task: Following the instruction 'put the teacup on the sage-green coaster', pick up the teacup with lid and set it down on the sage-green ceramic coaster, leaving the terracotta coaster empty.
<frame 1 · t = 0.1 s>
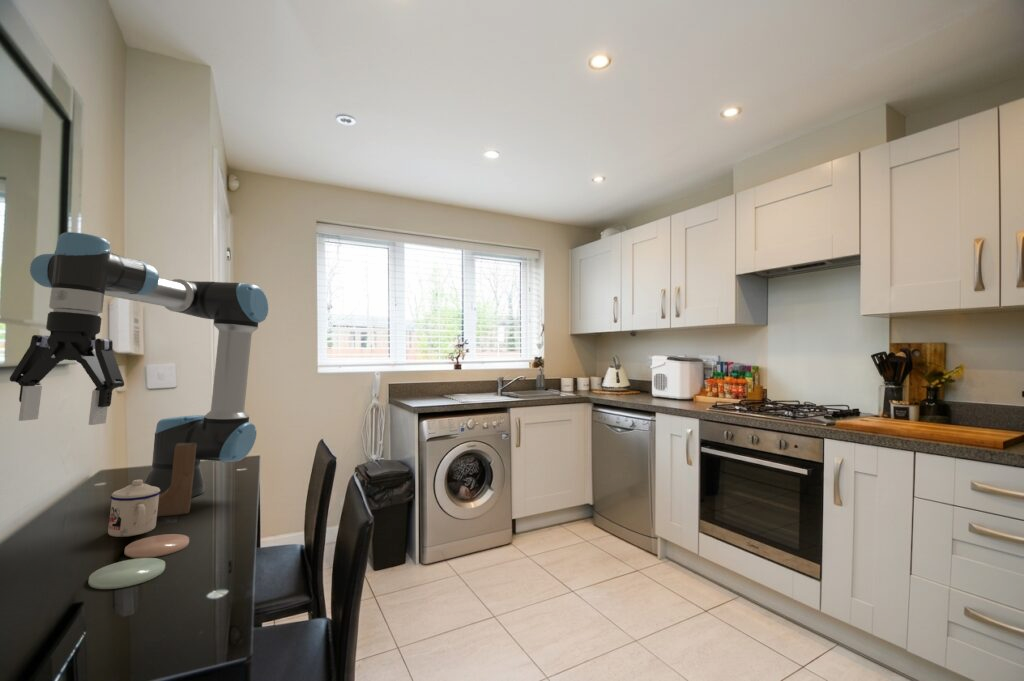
hand: (62, 422, 85), 28 cm above the table, fingers open, 13 cm apart
teacup with lid: (133, 533, 103), on the table
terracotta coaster: (157, 547, 96), on the table
wooden block: (168, 514, 116), on the table
sage coaster: (128, 574, 84), on the table
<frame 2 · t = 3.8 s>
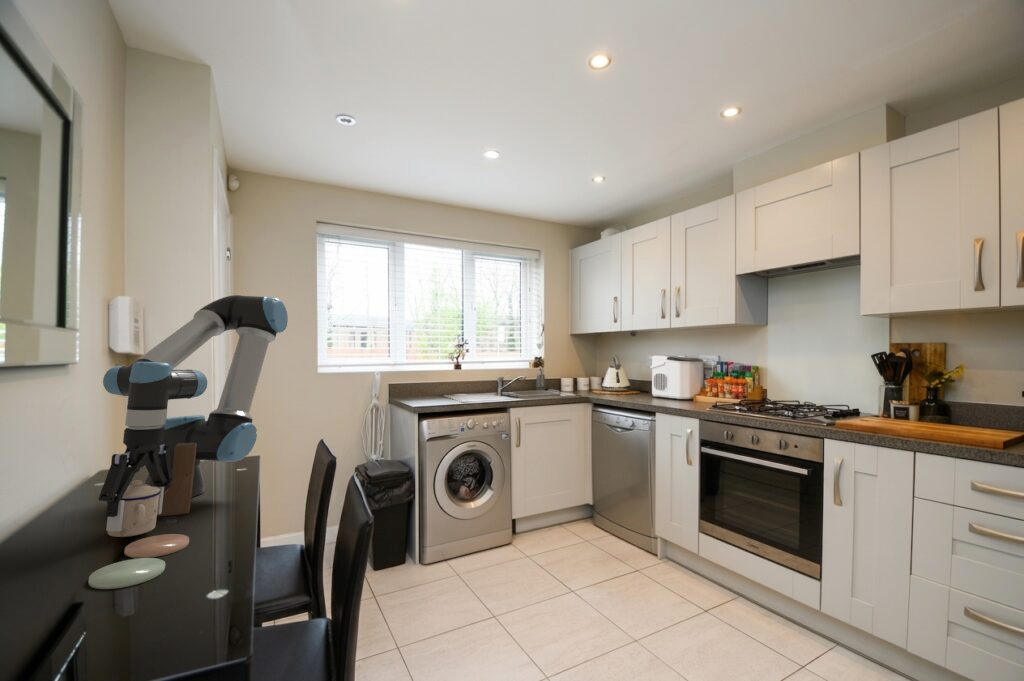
hand: (135, 521, 104), 2 cm above the table, fingers open, 10 cm apart
teacup with lid: (133, 533, 103), on the table, touching gripper
everything else where it was.
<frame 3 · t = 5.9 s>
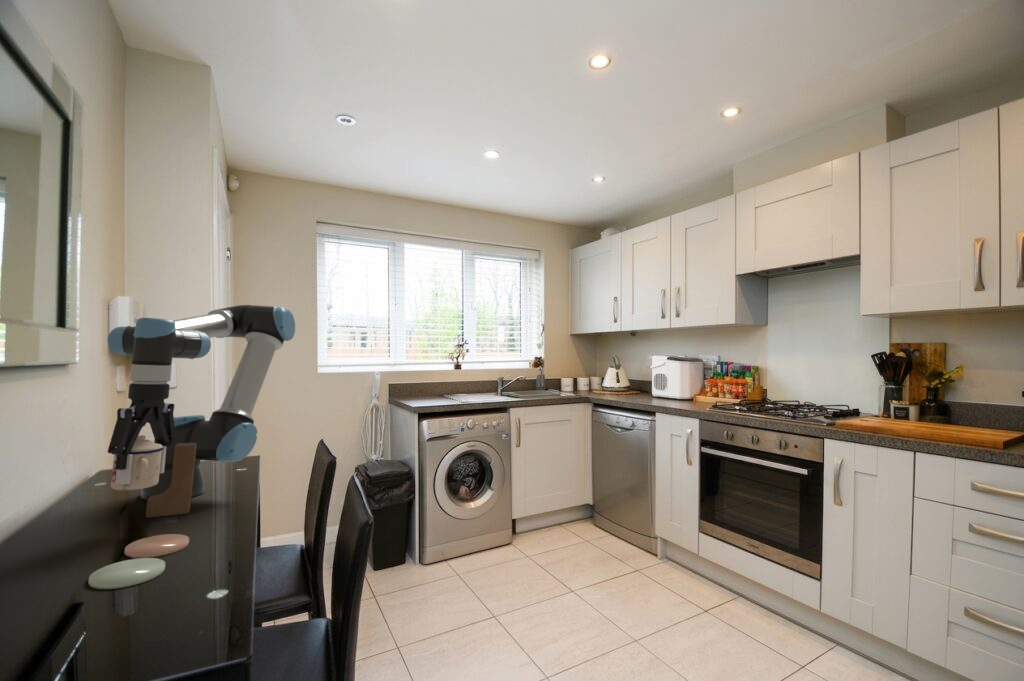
hand: (140, 477, 105), 12 cm above the table, fingers closed on teacup with lid, 9 cm apart
teacup with lid: (136, 487, 103), point 10 cm above the table, touching gripper
everything else where it was.
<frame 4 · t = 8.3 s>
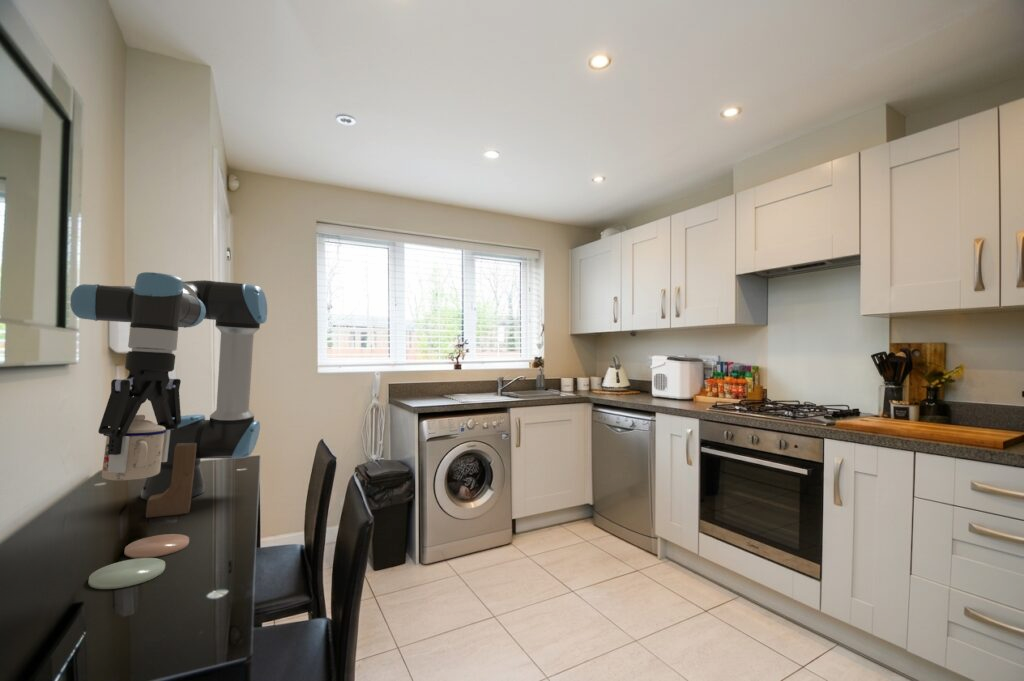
hand: (139, 466, 86), 20 cm above the table, fingers closed on teacup with lid, 9 cm apart
teacup with lid: (132, 478, 85), point 18 cm above the table, touching gripper
everything else where it was.
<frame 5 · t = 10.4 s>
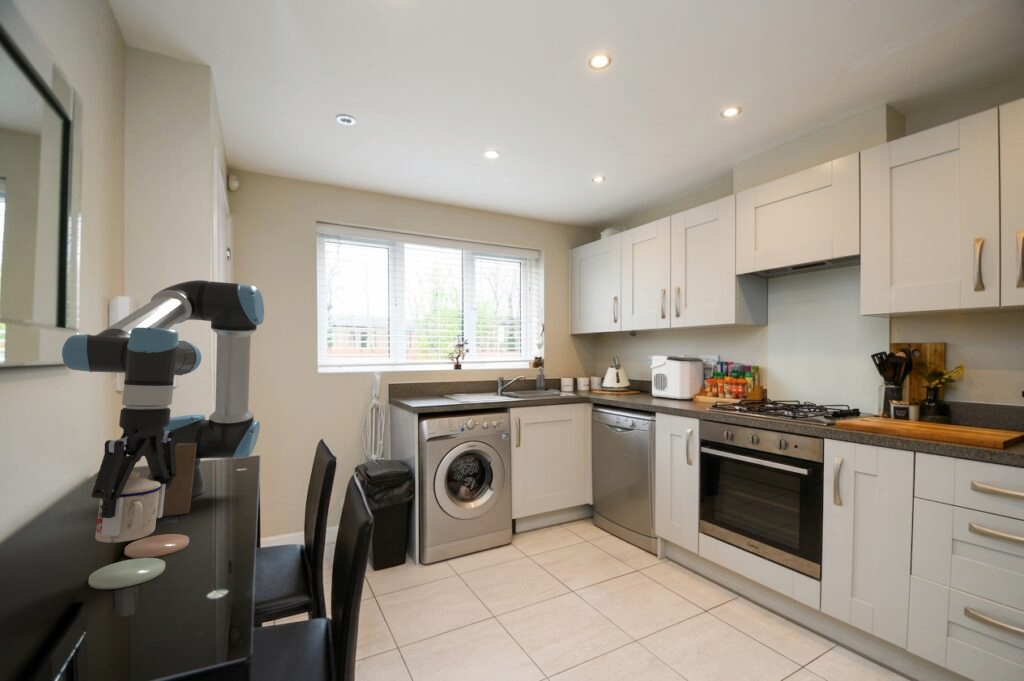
hand: (133, 525, 84), 9 cm above the table, fingers closed on teacup with lid, 9 cm apart
teacup with lid: (127, 537, 83), point 7 cm above the table, touching gripper
everything else where it was.
when the fingers open (4 cm above the table, at t = 12.3 s): teacup with lid drops 2 cm, resting on sage coaster.
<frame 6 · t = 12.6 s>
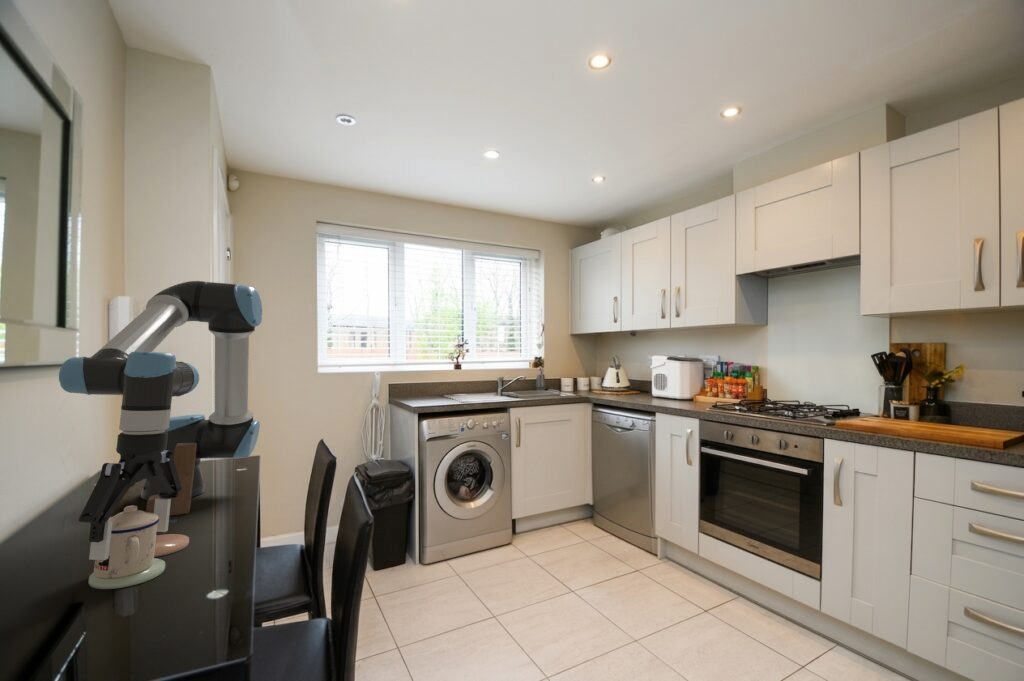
hand: (131, 544, 84), 6 cm above the table, fingers open, 13 cm apart
teacup with lid: (125, 572, 83), point 1 cm above the table, touching sage coaster
everything else where it was.
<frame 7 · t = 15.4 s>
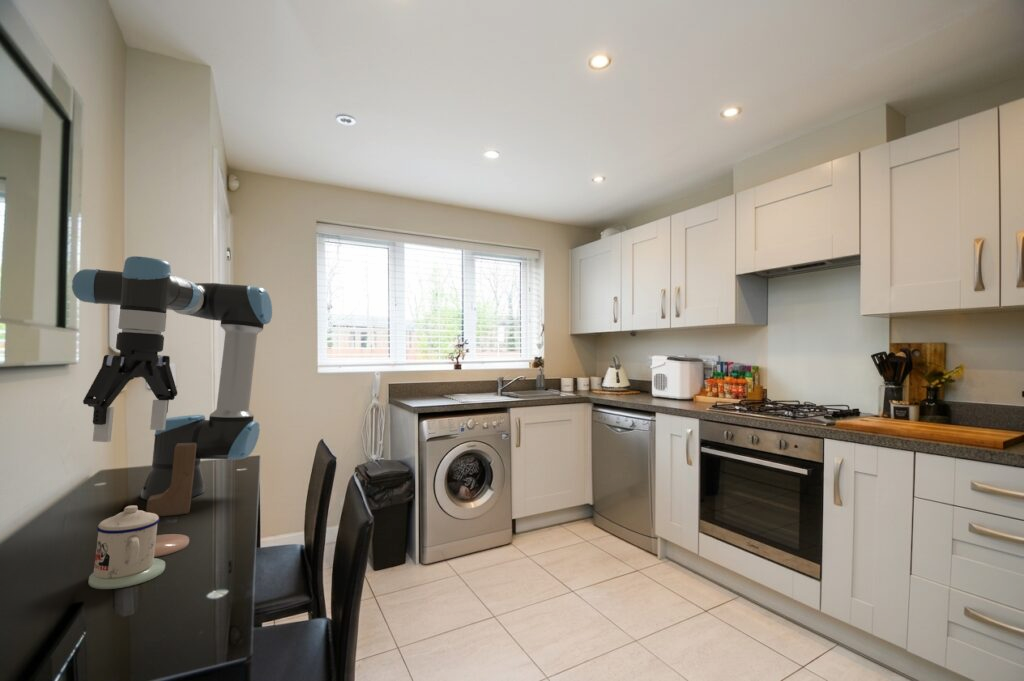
hand: (131, 435, 91), 25 cm above the table, fingers open, 13 cm apart
nothing on the table moved.
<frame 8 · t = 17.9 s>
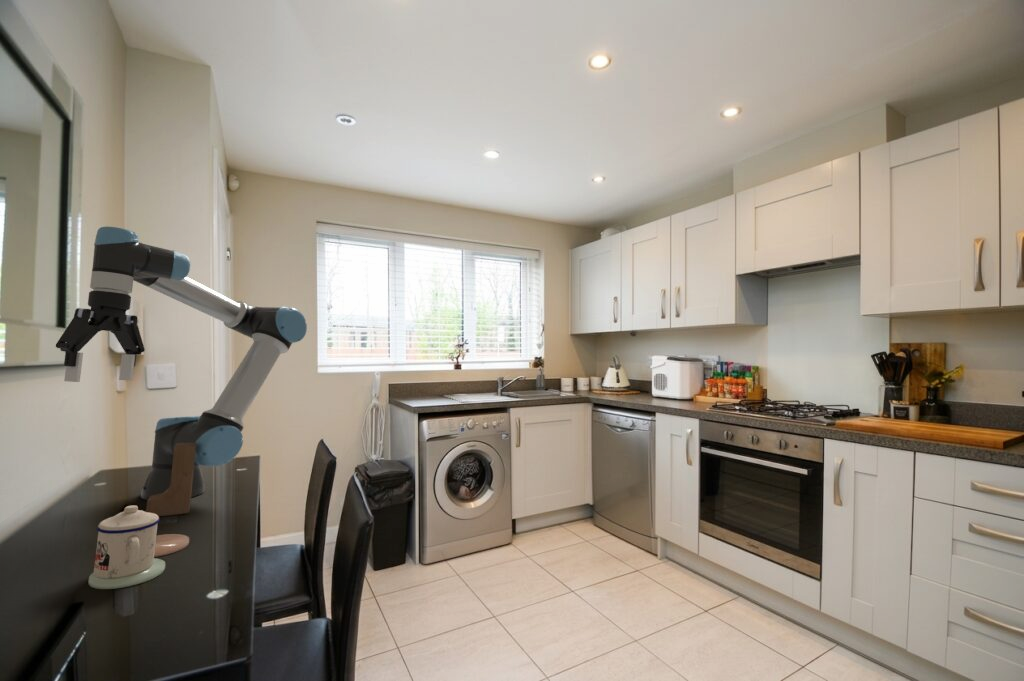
hand: (100, 381, 105), 35 cm above the table, fingers open, 13 cm apart
wooden block: (168, 514, 116), on the table, touching arm
everything else where it was.
at the end: teacup with lid 0.5 cm off-centre on the sage coaster, point 0.6 cm above the sage coaster's base; teacup with lid tilted 0°; teacup with lid touching sage coaster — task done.
